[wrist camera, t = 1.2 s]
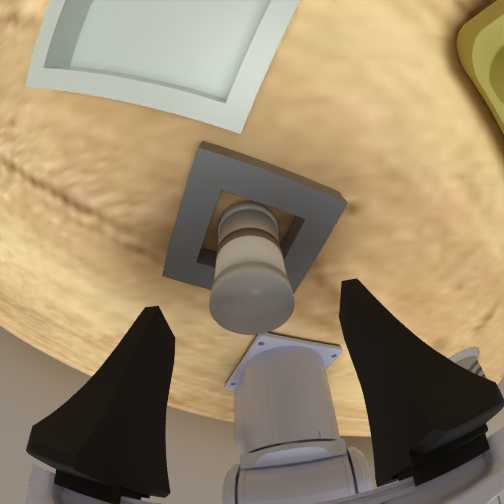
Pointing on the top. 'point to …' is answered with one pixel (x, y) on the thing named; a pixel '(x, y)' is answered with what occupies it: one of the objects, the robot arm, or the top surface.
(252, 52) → the parts tray
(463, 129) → the top surface
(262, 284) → the cylinder
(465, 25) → the plastic component
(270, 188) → the gray square frame
